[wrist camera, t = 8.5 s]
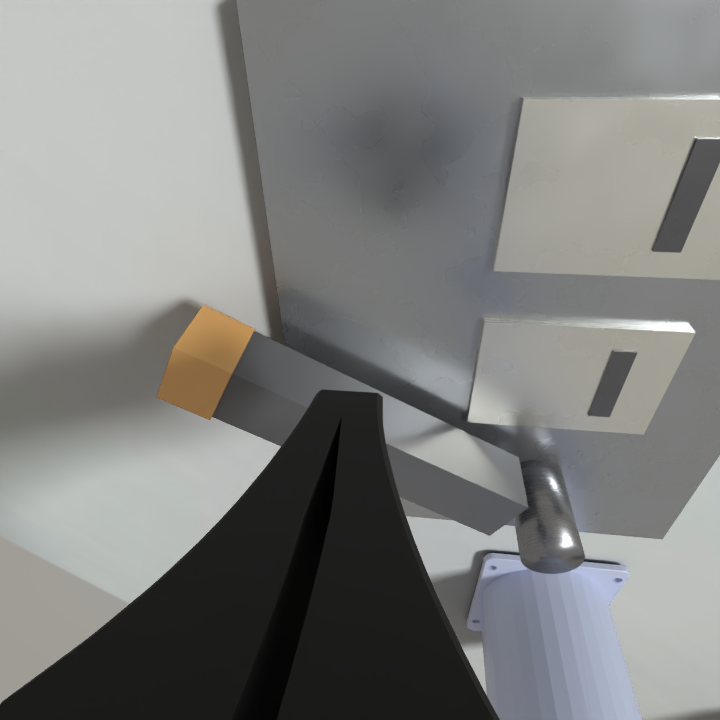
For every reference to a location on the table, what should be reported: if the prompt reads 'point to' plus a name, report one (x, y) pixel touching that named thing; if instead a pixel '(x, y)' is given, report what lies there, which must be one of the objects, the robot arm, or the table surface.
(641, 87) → the grey lever board
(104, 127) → the table surface
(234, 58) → the table surface
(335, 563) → the robot arm
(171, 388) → the swing bar
